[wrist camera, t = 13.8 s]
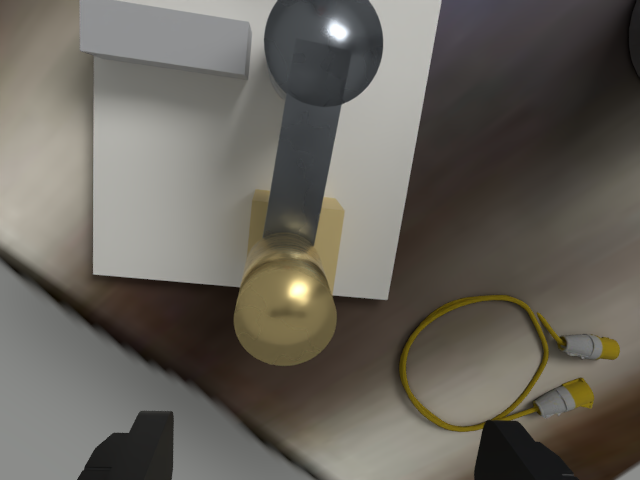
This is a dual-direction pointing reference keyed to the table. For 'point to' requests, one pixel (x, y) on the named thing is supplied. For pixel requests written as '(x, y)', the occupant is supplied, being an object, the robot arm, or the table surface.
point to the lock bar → (303, 173)
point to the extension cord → (553, 400)
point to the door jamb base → (238, 142)
